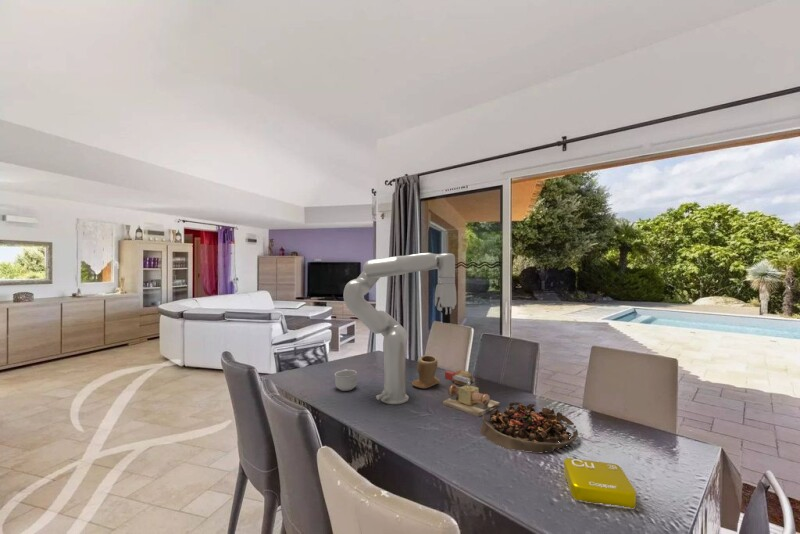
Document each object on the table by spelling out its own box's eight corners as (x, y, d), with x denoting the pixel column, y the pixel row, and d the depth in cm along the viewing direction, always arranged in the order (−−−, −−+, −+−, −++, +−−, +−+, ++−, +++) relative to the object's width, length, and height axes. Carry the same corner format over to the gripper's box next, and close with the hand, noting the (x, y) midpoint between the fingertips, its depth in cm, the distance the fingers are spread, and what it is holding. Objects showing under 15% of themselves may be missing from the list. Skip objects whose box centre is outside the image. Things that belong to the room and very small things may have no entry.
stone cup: (427, 392, 176) (427, 360, 176) (408, 386, 185) (408, 356, 184) (446, 384, 187) (446, 355, 187) (428, 379, 196) (428, 351, 195)
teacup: (355, 392, 175) (355, 376, 175) (332, 392, 176) (332, 375, 176) (359, 383, 189) (359, 367, 189) (337, 383, 190) (338, 367, 190)
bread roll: (463, 393, 186) (469, 380, 183) (446, 381, 191) (452, 368, 189) (471, 388, 194) (478, 375, 191) (456, 376, 199) (461, 363, 197)
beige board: (478, 416, 149) (478, 412, 149) (443, 404, 161) (443, 401, 161) (499, 405, 160) (499, 402, 160) (464, 395, 173) (464, 392, 173)
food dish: (532, 410, 158) (533, 392, 158) (600, 448, 127) (601, 425, 127) (461, 420, 146) (461, 400, 146) (516, 464, 115) (517, 439, 115)
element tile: (572, 502, 96) (573, 484, 96) (562, 471, 110) (562, 455, 110) (638, 512, 92) (638, 493, 92) (618, 478, 107) (619, 462, 107)
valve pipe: (482, 410, 151) (483, 392, 151) (447, 399, 163) (447, 382, 163) (490, 406, 155) (490, 389, 155) (455, 395, 168) (455, 379, 168)
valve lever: (471, 385, 159) (471, 377, 159) (468, 386, 158) (468, 378, 158) (448, 378, 169) (448, 370, 169) (444, 379, 167) (444, 372, 167)
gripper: (450, 280, 171) (450, 320, 172) (428, 281, 161) (428, 323, 161) (463, 281, 166) (463, 322, 166) (441, 282, 156) (441, 325, 156)
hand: (446, 322), depth 164 cm, fingers closed
